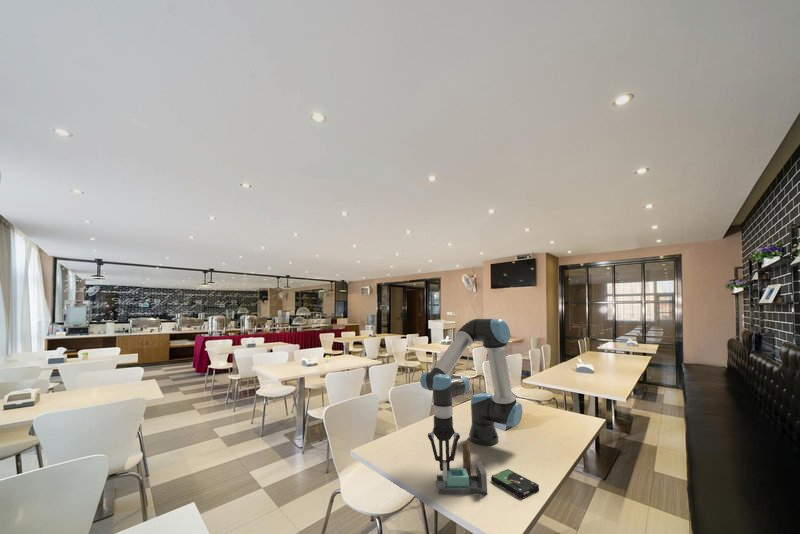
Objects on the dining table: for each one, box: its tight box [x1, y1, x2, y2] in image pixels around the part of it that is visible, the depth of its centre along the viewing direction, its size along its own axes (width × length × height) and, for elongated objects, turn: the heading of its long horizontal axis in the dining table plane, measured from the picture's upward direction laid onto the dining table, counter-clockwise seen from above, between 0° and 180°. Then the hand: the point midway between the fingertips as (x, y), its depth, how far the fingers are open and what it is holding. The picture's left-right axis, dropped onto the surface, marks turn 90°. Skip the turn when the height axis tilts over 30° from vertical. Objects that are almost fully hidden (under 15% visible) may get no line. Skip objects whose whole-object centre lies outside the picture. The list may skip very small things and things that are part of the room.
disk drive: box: [490, 468, 540, 500], centre depth 123 cm, size 10×3×15 cm
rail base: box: [436, 461, 488, 495], centre depth 123 cm, size 18×10×7 cm, turn 88°
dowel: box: [461, 442, 472, 475], centre depth 132 cm, size 3×3×12 cm
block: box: [447, 467, 469, 487], centre depth 123 cm, size 8×7×4 cm
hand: (445, 479), depth 123 cm, fingers closed
